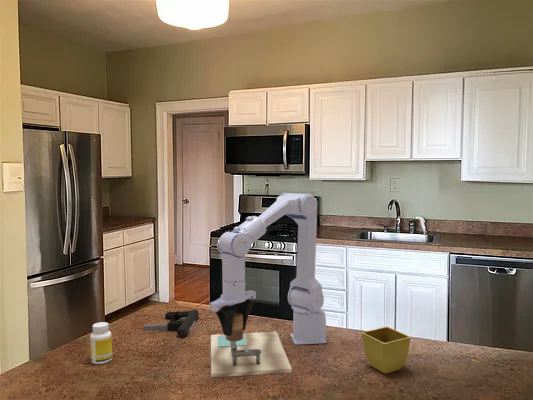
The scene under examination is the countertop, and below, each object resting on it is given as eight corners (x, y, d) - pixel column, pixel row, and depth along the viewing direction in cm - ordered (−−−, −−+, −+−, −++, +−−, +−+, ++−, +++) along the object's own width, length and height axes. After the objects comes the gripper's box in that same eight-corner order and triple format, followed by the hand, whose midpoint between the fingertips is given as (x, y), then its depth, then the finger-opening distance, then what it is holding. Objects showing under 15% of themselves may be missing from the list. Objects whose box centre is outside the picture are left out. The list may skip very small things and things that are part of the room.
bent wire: (257, 348, 126) (257, 335, 126) (261, 364, 116) (261, 350, 115) (229, 350, 125) (229, 336, 125) (231, 366, 115) (231, 352, 114)
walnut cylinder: (246, 337, 116) (246, 314, 115) (234, 342, 113) (234, 319, 112) (234, 333, 119) (234, 311, 118) (222, 338, 115) (222, 315, 115)
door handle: (136, 330, 138) (189, 328, 137) (156, 310, 158) (202, 308, 157) (137, 341, 138) (189, 339, 137) (157, 319, 158) (202, 317, 157)
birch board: (276, 334, 139) (276, 331, 139) (291, 372, 114) (291, 368, 113) (210, 338, 137) (210, 334, 137) (211, 377, 111) (211, 373, 111)
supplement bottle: (116, 358, 123) (115, 322, 122) (101, 366, 118) (100, 329, 117) (101, 354, 125) (100, 320, 124) (86, 362, 120) (85, 326, 119)
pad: (244, 335, 136) (244, 334, 136) (246, 346, 128) (246, 344, 128) (217, 337, 135) (217, 336, 135) (218, 347, 127) (218, 346, 127)
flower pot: (383, 379, 110) (384, 343, 109) (360, 365, 117) (360, 331, 117) (410, 372, 114) (411, 336, 113) (386, 359, 121) (387, 326, 121)
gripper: (242, 272, 123) (242, 321, 124) (201, 282, 112) (202, 336, 113) (261, 276, 118) (262, 327, 119) (221, 287, 107) (222, 343, 108)
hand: (234, 332), depth 116 cm, fingers closed on walnut cylinder, 4 cm apart
